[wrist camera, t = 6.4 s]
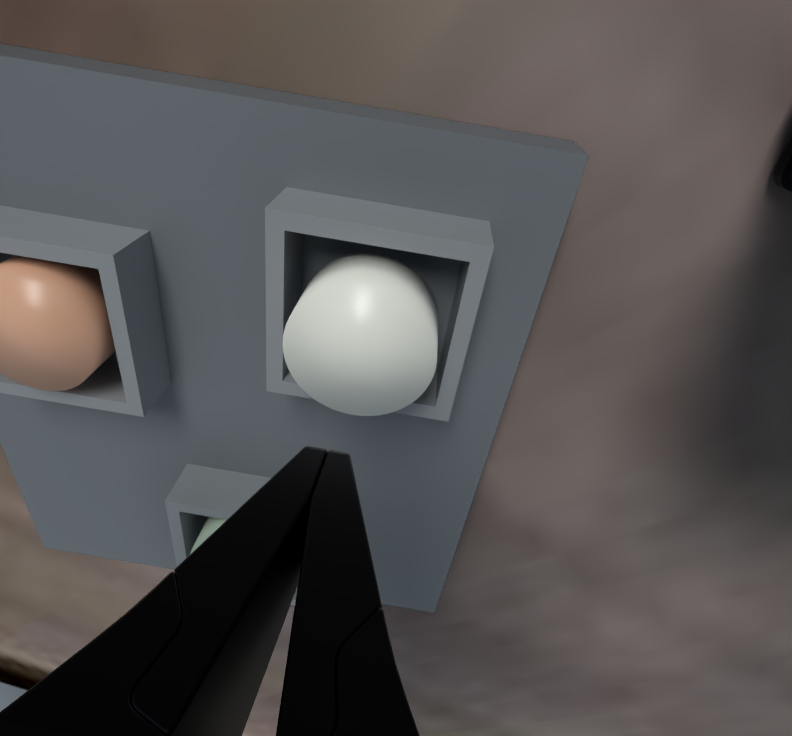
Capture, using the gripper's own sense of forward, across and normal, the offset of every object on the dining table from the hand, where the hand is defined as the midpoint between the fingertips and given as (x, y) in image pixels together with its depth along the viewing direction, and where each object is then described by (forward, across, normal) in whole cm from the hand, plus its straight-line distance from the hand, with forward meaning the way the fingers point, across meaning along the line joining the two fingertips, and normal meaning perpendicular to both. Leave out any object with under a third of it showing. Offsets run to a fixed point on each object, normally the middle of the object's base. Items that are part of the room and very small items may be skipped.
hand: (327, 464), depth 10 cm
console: (+9, +5, +6) cm, 12 cm away
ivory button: (+6, 0, 0) cm, 6 cm away
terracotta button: (+7, +10, +2) cm, 12 cm away
